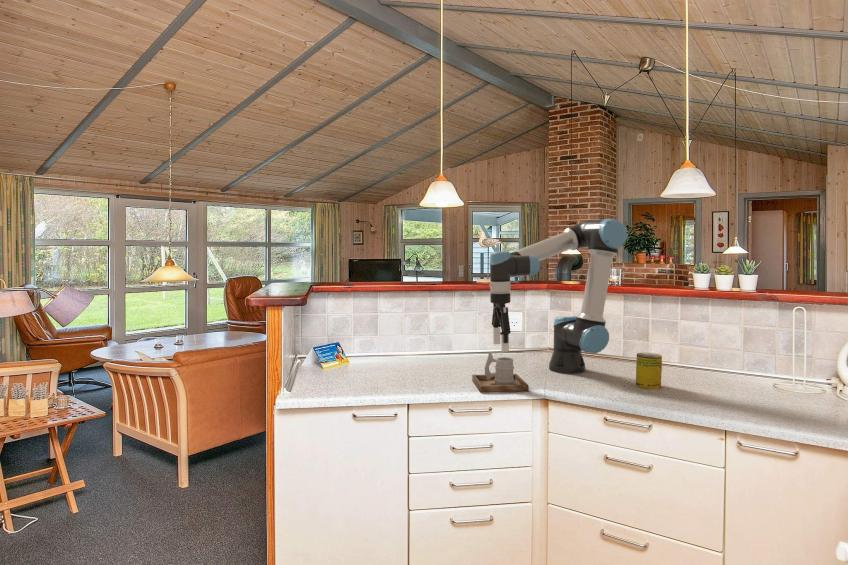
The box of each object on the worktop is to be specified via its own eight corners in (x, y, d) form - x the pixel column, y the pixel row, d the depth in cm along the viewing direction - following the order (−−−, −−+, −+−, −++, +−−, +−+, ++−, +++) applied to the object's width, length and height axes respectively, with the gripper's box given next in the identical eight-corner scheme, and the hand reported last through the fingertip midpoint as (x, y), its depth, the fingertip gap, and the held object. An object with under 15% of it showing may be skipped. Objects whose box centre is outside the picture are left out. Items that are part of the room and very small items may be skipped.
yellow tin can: (661, 390, 207) (662, 358, 206) (635, 387, 210) (636, 356, 209) (660, 384, 215) (661, 353, 214) (635, 381, 218) (636, 351, 217)
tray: (516, 379, 222) (516, 373, 221) (528, 391, 205) (528, 385, 205) (472, 380, 220) (472, 374, 220) (480, 392, 203) (480, 386, 203)
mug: (512, 388, 208) (512, 356, 206) (481, 384, 212) (481, 353, 211) (516, 382, 215) (516, 352, 214) (486, 380, 219) (487, 350, 218)
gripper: (483, 289, 221) (484, 341, 223) (498, 296, 197) (498, 355, 199) (502, 288, 222) (502, 340, 224) (518, 295, 197) (519, 354, 199)
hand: (500, 347), depth 211 cm, fingers open, 13 cm apart
